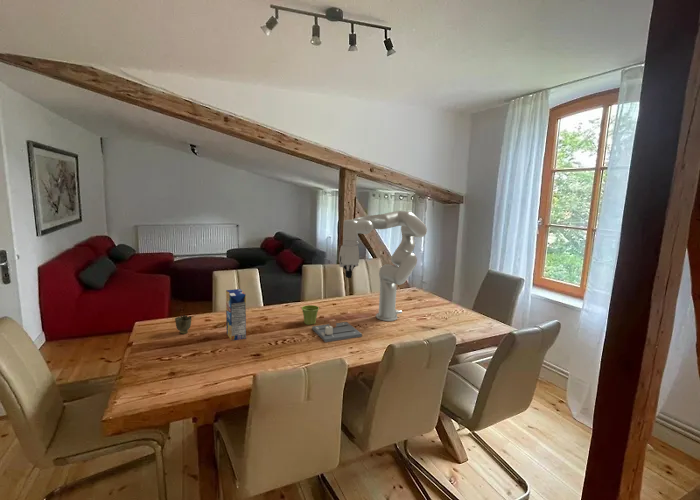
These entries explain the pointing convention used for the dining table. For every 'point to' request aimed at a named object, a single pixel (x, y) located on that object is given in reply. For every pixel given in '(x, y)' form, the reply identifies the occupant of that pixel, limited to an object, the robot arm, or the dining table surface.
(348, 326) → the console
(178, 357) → the dining table surface
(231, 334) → the beverage box
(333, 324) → the fader rust
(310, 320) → the plant pot
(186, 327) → the cup
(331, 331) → the fader ivory
